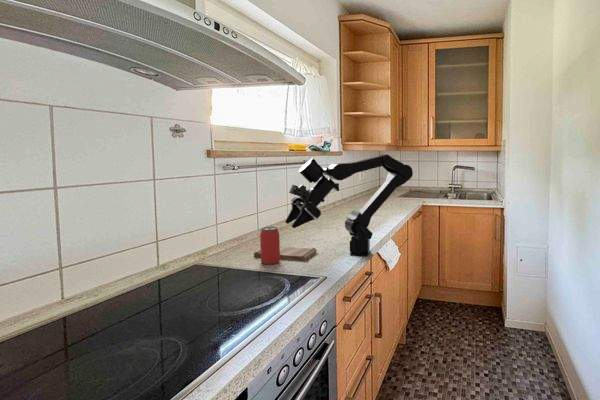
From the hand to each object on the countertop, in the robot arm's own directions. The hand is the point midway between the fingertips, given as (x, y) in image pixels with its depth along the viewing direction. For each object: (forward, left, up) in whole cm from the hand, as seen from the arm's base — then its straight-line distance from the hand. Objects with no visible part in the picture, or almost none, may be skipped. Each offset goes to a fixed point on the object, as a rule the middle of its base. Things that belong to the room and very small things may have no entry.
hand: (289, 225), depth 146 cm
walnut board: (+5, -7, -13) cm, 15 cm away
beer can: (+6, +4, -13) cm, 15 cm away
